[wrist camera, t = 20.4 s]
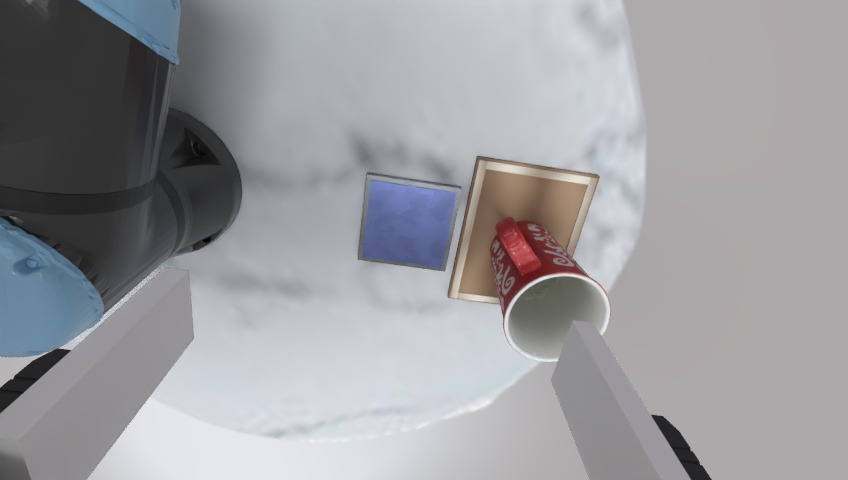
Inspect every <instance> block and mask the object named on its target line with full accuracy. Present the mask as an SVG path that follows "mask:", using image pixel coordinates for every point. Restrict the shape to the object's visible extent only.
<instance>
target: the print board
mask: <svg viewBox="0 0 848 480" xmlns="http://www.w3.org/2000/svg"><path fill="white" fill-rule="evenodd" d="M599 177H600V176H598V175H595V174H588V173H582V172H575V171H569V170H563V169H556V168H550V167H544V166H537V165H531V164H524V163H518V162H512V161H505V160H499V159H493V158H486V157H480V156H477V160H476V165H475V169H474V174H473V179H472V183H471V188H470V193H469V197H468V202H467V207H466V211H465V216H464V221H463V226H462V230H461V235H460V240H459V244H458V249H457V254H456V258H455V263H454V268H453V272H452V277H451V282H450V286H449V291H448V298H453V299H461V300H469V301H476V302H484V303H492V304H499V305H500V301H499V296H498V291H497V287H496V282H495V278H494V273H493V269H492V264H491V260H490V247H491V244H492V242H493V240H494V238H495V236H496V235H497V234H498V233H497V231H496V229H495V226H496V224H497V223H498V222H500V221H502V220H503V219H505V218H507V217H512V218H513V219H514V220H515V222H522V221H527V222H534V223H537V224H539V225H541V226H543V227H544V228H545V229H547V230H548V231H549V232H550V233H551V234H552V236H553V237H554V238H555V239H556V240H557V242H558V243H559V244H560V245H561V246H562V247H563V248H564V249H565V250H566V251H567V253H568V254H569V255H570V256H571V257H573V254H574V251H575V248H576V245H577V242H578V239H579V236H580V233H581V230H582V227H583V224H584V221H585V219H586V216H587V213H588V210H589V207H590V204H591V201H592V198H593V195H594V192H595V189H596V186H597V183H598V180H599Z"/></svg>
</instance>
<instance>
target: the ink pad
mask: <svg viewBox="0 0 848 480" xmlns="http://www.w3.org/2000/svg"><path fill="white" fill-rule="evenodd" d="M461 191H462V187H459V186H453V185H446V184H440V183H433V182H426V181H420V180H413V179H406V178H400V177H393V176H387V175H380V174H373V173H367V179H366V188H365V197H364V207H363V216H362V225H361V235H360V244H359V253H358V260H364V261H372V262H379V263H386V264H394V265H401V266H409V267H416V268H423V269H431V270H438V271H445V269H446V264H447V259H448V254H449V249H450V244H451V240H452V235H453V230H454V225H455V220H456V215H457V210H458V205H459V200H460V196H461Z"/></svg>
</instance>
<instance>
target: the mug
mask: <svg viewBox="0 0 848 480" xmlns="http://www.w3.org/2000/svg"><path fill="white" fill-rule="evenodd" d="M495 229H496V231H497V233H498V234H497V235H496V236H495V238H494V240H493V242H492V244H491V247H490V260H491V264H492V269H493V273H494V278H495V282H496V287H497V291H498V296H499V301H500V305H501V309H502V314H503V328H504V333H505V336H506V338H507V340H508V342H509V343H510V345H511V346H512V347H513V348H514V349H515V350H516V351H517V352H519V353H520V354H522V355H523V356H525V357H527V358H530V359H533V360H537V361H545V362H554V361H558V359H559V356H560V353H561V351H562V348H563V345H564V342H565V340H566V337H567V334H568V331H569V329H570V326H571V323H572V320H575V321H582V322H590V323H594V325H595V326H596V328H597V330H598V331H599V333H600V334H601V336H602V335H603V334H604V332H605V330H606V328H607V326H608V323H609V320H610V315H611V307H610V302H609V298H608V296H607V294H606V292H605V290H604V289H603V288H602V286H601V285H600V284H599V283H597V282H596V281H595V280H593V279H592V278H590V277H589V276H588V275H587V274H586V272H585V271H584V270H583V269H582V268H581V267H580V266H579V265H578V264H577V262H576V261H575V260H574V259H573V258H572V257H571V256H570V255H569V254H568V253H567V251H566V250H565V249H564V248H563V247H562V246H561V245H560V244H559V243H558V242H557V240H556V239H555V238H554V237H553V236H552V234H551V233H550V232H549V231H548V230H547V229H545V228H544V227H543V226H541V225H539V224H537V223H534V222H527V221H522V222H515V220H514V219H513V218H512V217H507V218H505V219H503V220H502V221H500V222H498V223H497V224H496V226H495Z"/></svg>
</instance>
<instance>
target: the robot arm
mask: <svg viewBox="0 0 848 480" xmlns="http://www.w3.org/2000/svg"><path fill="white" fill-rule="evenodd" d="M180 18H181V5H180V1H179V0H0V356H1V357H28V356H35V355H40V354H42V353H44V352H49V351H51V350H53V351H51V352H49V353H47V354H46V355H43V356H42V357H39V358H38V359H36V360H34V361H32V362H31V363H30V364H28V365H27V366H26V367H25V368H24V369H22V370H21V371H20V372H19V373H18V374H16V375H15V376H14V379H13V380H11V379H10V380H9V381H8V382H7V383H6V384H4V385H3V386H2V387H1V388H0V480H87V479H88V477H89V476H90V475H91V473H92V472H93V471H94V469H95V468H96V467H97V465H98V464H99V462H100V461H101V460H102V459H103V457H104V456H105V455H106V453H107V452H108V451H109V449H110V448H111V447H112V446H113V444H114V443H115V442H116V440H117V439H118V438H119V436H120V435H121V434H122V432H123V431H124V430H125V428H126V427H127V425H128V424H129V423H130V422H131V420H132V419H133V418H134V417H135V415H136V414H137V412H138V411H139V410H140V409H141V407H142V406H143V405H144V403H145V402H146V401H147V399H148V398H149V397H150V395H151V394H152V393H153V391H154V390H155V389H156V388H157V386H158V385H159V384H160V382H161V381H162V380H163V378H164V377H165V376H166V374H167V373H168V372H169V370H170V369H171V368H172V366H173V365H174V364H175V362H176V361H177V360H178V359H179V357H180V356H181V355H182V353H183V352H184V351H185V349H186V348H187V347H188V345H189V344H190V343H191V341H192V340H193V339H194V332H193V319H192V305H191V292H190V279H189V271H188V270H180V269H173V268H164V269H162V270H161V271H160V272H159V273H158V274H157V275H156V276H155V277H153V278H152V279H151V280H150V281H149V282H148V283H147V284H146V285H144V286H143V287H142V288H141V289H140V290H139V291H138V292H137V293H135V294H134V295H133V296H132V297H131V298H130V299H129V300H128V301H126V302H125V303H124V304H123V305H122V306H121V307H120V308H119V309H117V310H116V311H115V312H114V313H113V314H112V315H111V316H110V317H108V318H107V319H106V320H105V321H104V322H103V323H102V324H101V325H99V326H98V327H97V328H96V329H95V330H94V331H93V332H92V333H90V334H89V335H88V336H87V337H86V338H85V339H84V340H83V341H81V342H80V343H79V344H78V345H77V346H76V347H75V348H74V349H72V350H64V349H58V348H59V347H61V346H63V345H65V344H66V343H68V342H69V341H71V340H72V339H74V338H75V337H76V336H78V335H79V334H81V333H82V332H84V331H85V330H87V329H89V328H91V327H93V326H94V325H95V324H96V323H97V322H99V321H100V319H101V318H102V317H103V315H104V314H105V313H106V312H107V311H108V310H109V309H110V308H112V307H113V306H114V305H115V304H116V303H117V302H118V301H120V300H121V299H122V298H123V297H124V296H125V295H126V294H128V293H129V292H130V291H131V290H132V289H133V288H134V287H136V286H137V285H138V284H139V283H140V282H141V281H142V280H144V279H145V278H146V277H147V276H148V275H149V274H150V273H152V272H153V271H154V270H155V269H156V268H157V267H158V266H160V265H161V264H162V263H163V262H164V261H165V260H166V259H167V258H170V257H174V256H178V255H182V254H185V253H189V252H193V251H196V250H199V249H201V248H203V247H205V246H207V245H209V244H211V243H212V242H214V241H215V240H216V239H217V238H218V237H220V236H221V235H222V234H223V233H224V232H225V231H226V230H227V229H228V228H229V227H230V225H231V224H232V223H233V221H234V219H235V218H236V216H237V213H238V211H239V207H240V203H241V194H242V190H241V180H240V176H239V172H238V169H237V166H236V164H235V162H234V160H233V158H232V156H231V154H230V152H229V151H228V149H227V148H226V147H225V145H224V144H223V143H222V141H221V140H220V139H219V138H218V137H217V136H216V135H215V134H214V133H213V132H212V131H211V130H210V129H209V128H207V127H206V126H205V125H204V124H202V123H201V122H199V121H198V120H196V119H194V118H193V117H191V116H189V115H187V114H185V113H182V112H180V111H177V110H174V109H171V108H169V102H170V96H171V90H172V84H173V78H174V72H175V66H176V65H179V61H180V60H179V57H178V55H177V46H178V37H179V27H180ZM551 382H552V385H553V387H554V390H555V392H556V395H557V397H558V399H559V402H560V405H561V408H562V410H563V412H564V415H565V418H566V420H567V422H568V425H569V428H570V431H571V433H572V436H573V438H574V440H575V443H576V446H577V448H578V451H579V453H580V456H581V459H582V461H583V464H584V466H585V469H586V471H587V474H588V476H589V479H590V480H711V478H710V477H709V475H708V474H707V472H706V471H705V469H704V468H703V466H702V465H700V464H699V460H698V459H697V457H696V456H695V454H694V453H693V452H692V451H690V447H689V445H688V444H687V442H686V441H685V439H684V438H683V436H682V435H681V433H680V432H679V431H678V430H677V429H676V428H675V427H674V426H673V425H672V424H671V423H670V422H669V421H667V420H666V419H665V418H664V417H663V416H657V415H650V413H649V411H648V410H647V408H646V407H645V405H644V403H643V402H642V400H641V398H640V397H639V395H638V394H637V392H636V390H635V389H634V387H633V386H632V384H631V383H630V381H629V379H628V378H627V376H626V374H625V373H624V371H623V370H622V368H621V366H620V365H619V363H618V362H617V360H616V358H615V357H614V356H613V354H612V352H611V350H610V349H609V347H608V346H607V344H606V343H605V341H604V339H603V338H602V336H601V334H600V333H599V331H598V330H597V328H596V326H595V325H594V323H590V322H582V321H575V320H572V323H571V326H570V329H569V331H568V334H567V337H566V340H565V342H564V345H563V348H562V351H561V353H560V356H559V359H558V362H557V364H556V367H555V370H554V373H553V376H552V378H551Z"/></svg>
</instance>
